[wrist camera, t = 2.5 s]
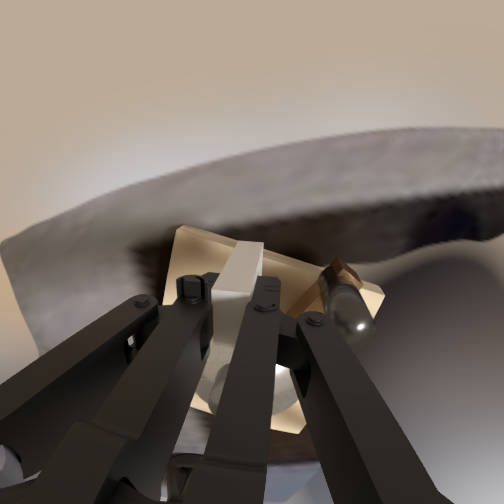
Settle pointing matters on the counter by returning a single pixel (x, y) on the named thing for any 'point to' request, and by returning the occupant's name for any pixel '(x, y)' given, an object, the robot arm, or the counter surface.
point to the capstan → (314, 299)
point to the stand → (273, 265)
